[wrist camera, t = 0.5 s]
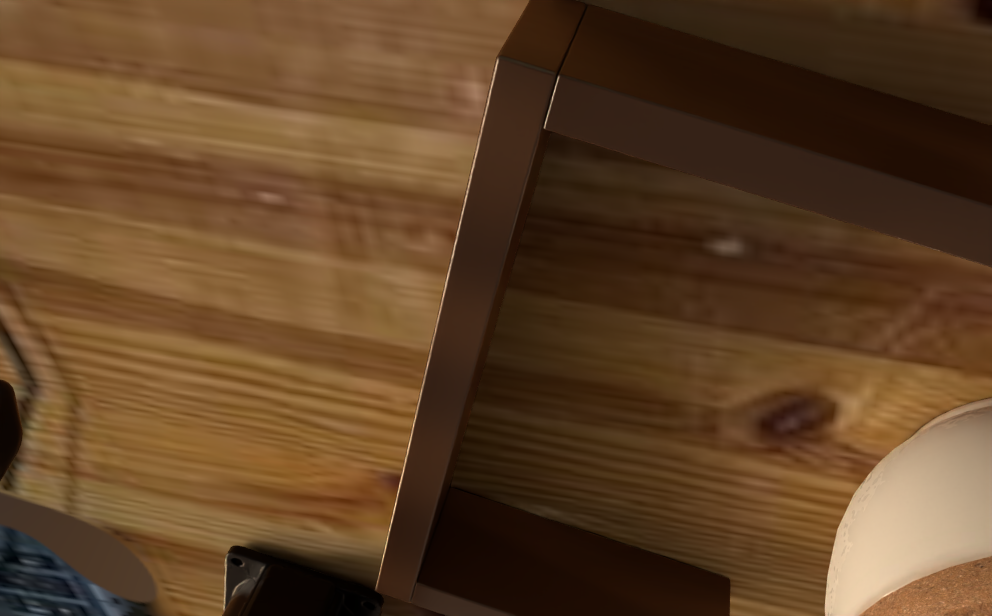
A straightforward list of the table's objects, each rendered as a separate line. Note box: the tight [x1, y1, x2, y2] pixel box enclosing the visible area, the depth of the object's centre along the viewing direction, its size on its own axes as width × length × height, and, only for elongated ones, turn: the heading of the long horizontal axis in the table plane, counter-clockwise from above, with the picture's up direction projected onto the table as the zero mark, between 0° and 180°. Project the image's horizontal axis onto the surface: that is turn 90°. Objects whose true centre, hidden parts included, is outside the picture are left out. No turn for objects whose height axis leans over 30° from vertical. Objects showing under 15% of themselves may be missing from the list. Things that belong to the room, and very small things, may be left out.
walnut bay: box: [375, 0, 992, 616], centre depth 24 cm, size 18×11×4 cm, turn 168°
